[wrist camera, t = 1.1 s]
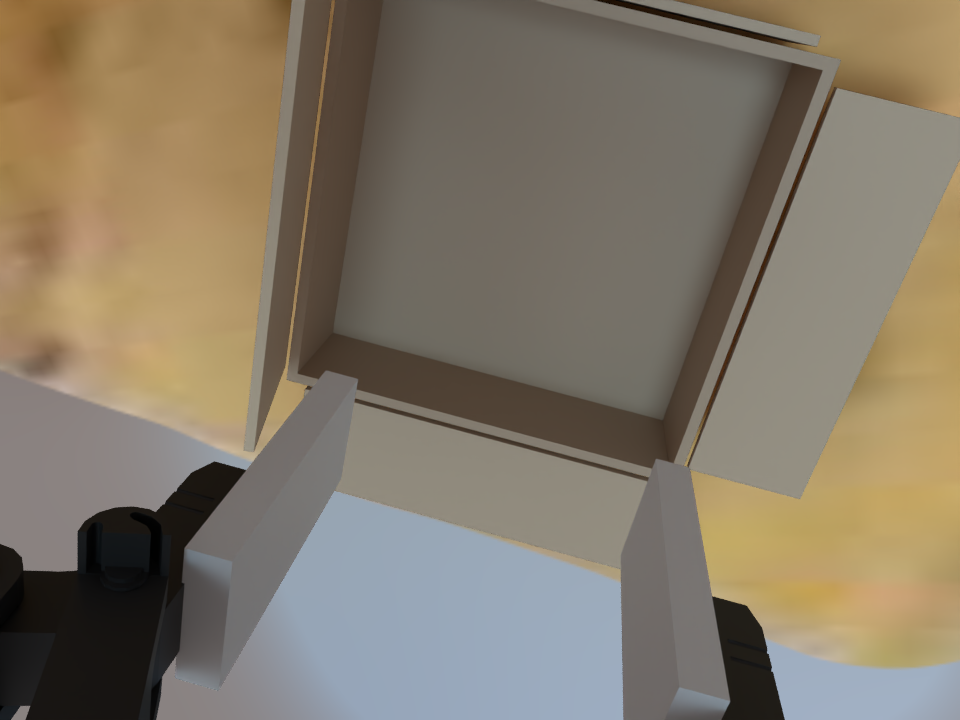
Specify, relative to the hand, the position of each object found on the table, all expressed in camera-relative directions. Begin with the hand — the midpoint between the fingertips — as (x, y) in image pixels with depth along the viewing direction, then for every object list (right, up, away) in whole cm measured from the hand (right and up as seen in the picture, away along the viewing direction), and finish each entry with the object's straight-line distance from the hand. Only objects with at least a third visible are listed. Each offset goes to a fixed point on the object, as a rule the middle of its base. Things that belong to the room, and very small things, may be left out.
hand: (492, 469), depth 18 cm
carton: (+5, +7, +24) cm, 25 cm away
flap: (-8, +8, +14) cm, 18 cm away
